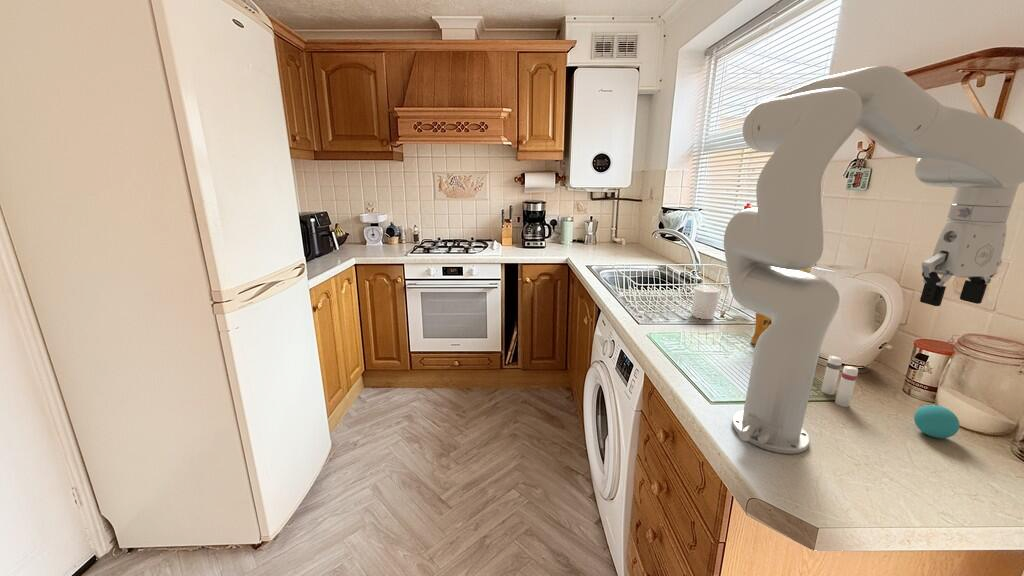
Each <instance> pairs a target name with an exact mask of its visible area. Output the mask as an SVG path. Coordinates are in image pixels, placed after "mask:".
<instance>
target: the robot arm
mask: <svg viewBox="0 0 1024 576" xmlns="http://www.w3.org/2000/svg"><path fill="white" fill-rule="evenodd" d="M743 121H744V122H743V123H742V136H743V140H744V142H745V143H746V144H747V146H748V147H749V148H751V149H752V150H754V151H756V152H759V153H772V155H771V156H770V157H769V159H768V160H767V161H766V163H765V164H764V166H763V168H762V170H761V172H760V174H759V176H758V178H757V182H756V191H755V194H756V207H750V208H749V207H748V208H745V209H743V210H740V211H739V212H737V213H735V214H734V216H733V217H731V218H730V219H729V222H728V223H727V225H726V228H725V232H724V235H723V250H724V256H725V257H724V258H725V263H726V268H727V276H728V280H729V288H730V292H731V294H732V297H733V298H734V300H735V302H737V303H738V304H739V305H740V306H742V307H743V308H744V309H748V310H749V311H751V312H754V313H755V314H756V313H759V314H761V315H763V316H766V317H767V318H770V319H771V320H772V323H771V325H770V326H769V327H768V328H767V329H766V330H765V331H764V332H763V333H762V334H761V335H760V336H759V338H758V340H757V342H756V344H755V347H754V352H753V353H754V354H753V359H752V363H751V368H750V369H751V370H750V373H749V380H748V384H747V385H748V386H747V390H746V394H745V395H746V396H745V400H744V401H745V402H744V407H743V410H741V411H738V412H735V414H734V415H733V416H732V420H731V425H732V427H733V430H734V431H735V432H736V434H738V437H739V438H740V440H742V441H743V442H749V443H750V444H752V445H753V446H756V447H758V448H760V449H764V450H765V451H770V452H774V453H778V454H783V455H784V454H789V455H794V454H800V453H803V452H805V451H807V449H809V446H810V443H811V441H810V436H809V434H808V432H807V431H806V430H805V429H804V428H803V425H804V421H805V416H806V413H807V408H808V403H809V400H810V396H811V391H812V387H813V382H814V379H815V374H816V370H817V369H816V368H817V365H818V364H817V363H818V361H819V357H820V353H821V349H822V345H823V343H824V340H825V338H826V335H827V332H828V330H829V329H830V328H829V327H830V326H831V324H832V322H833V320H834V319H835V317H836V315H837V312H838V309H839V306H840V300H841V299H840V294H839V292H838V289H837V288H836V287H835V285H834V284H833V283H831V282H830V281H828V280H827V279H825V278H823V277H821V276H820V275H817V274H816V275H814V274H810V273H807V272H803V271H799V270H803V269H807V268H810V267H812V266H813V265H815V264H816V265H817V263H818V262H819V261H820V259H821V257H822V254H823V252H824V223H823V222H824V221H823V208H822V181H823V176H824V174H825V171H826V169H827V167H828V165H829V163H830V162H831V161H832V159H833V158H834V156H835V154H836V153H837V152H838V151H839V150H840V148H841V147H842V146H843V145H844V144H845V142H846V141H847V140H848V139H849V138H850V137H851V136H852V134H854V132H855V130H857V131H859V132H861V134H863V135H865V136H866V137H867V138H869V139H870V140H872V141H874V142H875V143H876V144H878V145H880V147H882V148H883V149H884V150H885V151H888V152H890V153H892V154H896V155H900V156H904V157H908V158H914V159H917V160H916V163H915V165H914V173H915V177H916V178H917V180H918V181H920V182H921V183H923V184H925V185H927V186H930V187H938V188H939V187H940V188H955V190H954V193H953V197H952V199H951V200H952V201H951V204H950V207H949V211H948V214H947V218H946V222H945V224H944V226H943V228H942V230H941V233H940V235H939V237H938V239H937V242H936V244H935V247H934V250H933V253H932V256H931V257H929V258H928V259H926V260H924V261H922V263H921V269H922V273H921V275H922V277H923V279H922V282H923V283H924V284H923V289H922V291H921V295H920V298H919V303H923V304H927V305H930V306H933V307H940V306H941V305H942V301H943V300H944V299H943V298H944V296H945V291H946V289H947V286H945V284H946V283H947V282H948V281H949V280H950V279H951V278H952V277H953V276H954V277H956V278H968V279H966V280H965V281H964V283H963V287H962V289H961V293H960V296H959V300H961V301H964V302H968V303H972V304H976V305H977V304H978V305H979V304H981V303H982V301H983V299H984V295H985V292H986V290H987V288H988V287H987V286H988V284H990V283H991V282H992V278H993V277H994V276H995V275H996V274H997V272H998V269H999V268H1000V266H1001V265H1002V263H1003V260H1002V255H1003V251H1004V247H1005V242H1006V238H1007V237H1006V236H1007V221H1008V219H1009V216H1010V212H1011V210H1012V206H1013V203H1014V200H1015V197H1016V194H1017V191H1018V188H1019V185H1021V184H1023V183H1024V132H1023V131H1022V130H1021V129H1019V127H1017V126H1015V125H1014V124H1012V123H1009V122H1007V121H1005V120H1002V119H999V118H995V117H992V116H988V115H984V114H979V113H976V112H972V111H968V110H964V109H961V108H955V107H950V106H946V105H943V104H942V103H941V102H939V101H938V100H937V99H936V98H935V97H933V96H932V95H931V94H929V93H928V92H927V91H925V89H924V88H922V87H921V86H920V85H919V84H917V83H916V82H915V81H914V80H913V79H911V77H909V76H907V74H905V73H904V72H903V71H902V70H900V69H899V68H896V67H893V66H889V65H876V66H870V67H869V66H868V67H864V68H860V69H856V70H852V71H851V70H850V71H846V72H842V73H837V74H833V75H829V76H826V77H822V78H819V79H817V80H814V81H811V82H809V83H806V84H803V85H801V86H799V87H796V88H793V89H791V90H787V91H785V92H782V93H780V94H777V95H775V96H771V97H769V98H767V99H764V100H762V101H760V102H759V103H757V104H756V105H755V106H753V108H751V109H750V111H749V112H748V114H747V115H746V116H745V119H744V120H743ZM940 276H941V277H940Z"/></svg>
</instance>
